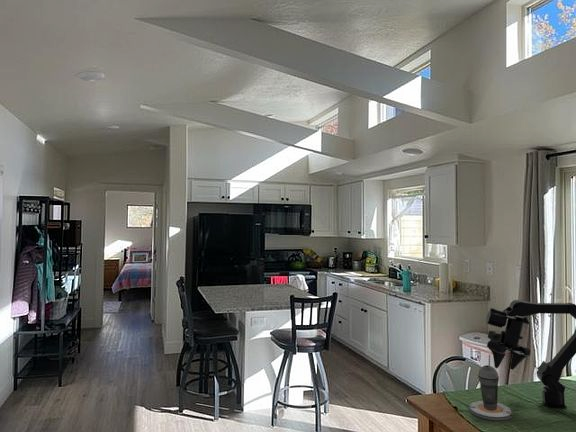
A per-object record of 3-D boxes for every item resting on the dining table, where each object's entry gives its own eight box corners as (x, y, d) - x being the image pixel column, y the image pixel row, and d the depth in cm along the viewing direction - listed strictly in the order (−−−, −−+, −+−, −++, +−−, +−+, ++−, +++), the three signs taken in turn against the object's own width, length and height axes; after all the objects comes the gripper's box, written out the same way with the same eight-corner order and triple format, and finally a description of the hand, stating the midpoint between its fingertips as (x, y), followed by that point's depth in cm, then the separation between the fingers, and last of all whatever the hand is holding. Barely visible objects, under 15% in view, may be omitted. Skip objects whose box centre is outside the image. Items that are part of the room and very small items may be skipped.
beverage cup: (489, 402, 164) (486, 350, 165) (505, 409, 157) (502, 355, 158) (475, 406, 161) (472, 353, 162) (490, 413, 155) (487, 357, 156)
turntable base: (505, 405, 165) (505, 403, 165) (518, 422, 150) (518, 420, 150) (465, 404, 168) (465, 401, 168) (473, 419, 153) (473, 417, 153)
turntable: (504, 404, 165) (504, 401, 165) (516, 419, 151) (516, 416, 151) (466, 402, 167) (466, 399, 168) (474, 416, 154) (474, 414, 154)
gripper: (511, 326, 181) (502, 361, 181) (480, 322, 173) (471, 358, 174) (535, 336, 171) (526, 373, 171) (503, 331, 163) (494, 370, 164)
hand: (503, 368), depth 170 cm, fingers open, 9 cm apart
